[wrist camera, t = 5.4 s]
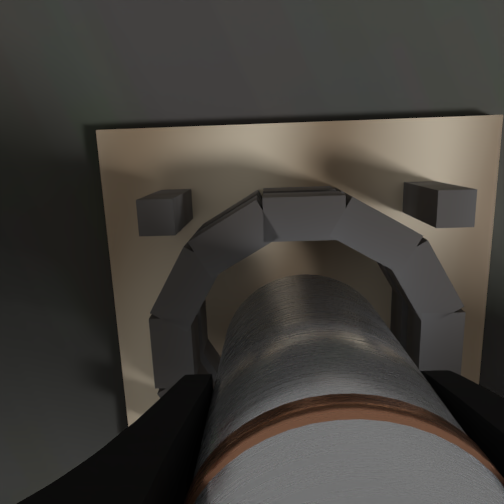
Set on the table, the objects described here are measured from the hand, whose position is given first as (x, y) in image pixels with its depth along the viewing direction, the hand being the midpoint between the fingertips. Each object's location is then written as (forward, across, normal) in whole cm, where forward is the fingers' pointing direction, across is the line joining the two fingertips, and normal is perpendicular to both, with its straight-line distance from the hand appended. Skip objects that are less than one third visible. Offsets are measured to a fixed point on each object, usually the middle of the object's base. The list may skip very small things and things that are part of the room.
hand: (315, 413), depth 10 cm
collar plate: (+7, 0, 0) cm, 7 cm away
